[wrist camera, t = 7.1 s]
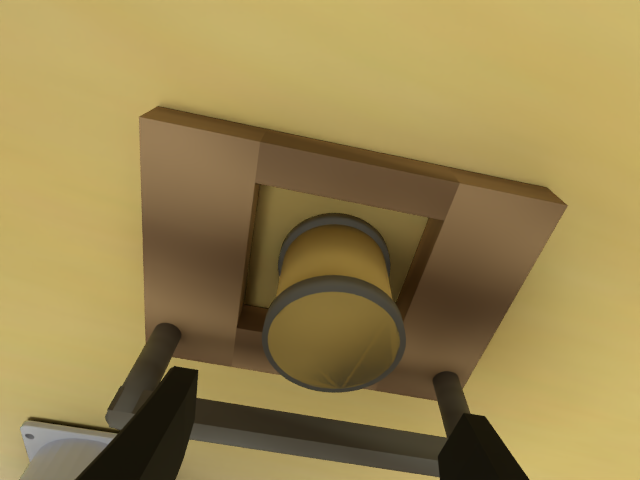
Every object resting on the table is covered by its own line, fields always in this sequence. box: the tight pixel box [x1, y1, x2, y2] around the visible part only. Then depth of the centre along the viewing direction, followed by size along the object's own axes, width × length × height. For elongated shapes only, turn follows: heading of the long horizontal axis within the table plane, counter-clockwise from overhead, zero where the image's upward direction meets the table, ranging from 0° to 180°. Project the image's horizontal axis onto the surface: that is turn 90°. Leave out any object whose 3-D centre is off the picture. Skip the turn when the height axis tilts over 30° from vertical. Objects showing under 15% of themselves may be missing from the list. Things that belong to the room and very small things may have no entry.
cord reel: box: [262, 213, 406, 392], centre depth 15 cm, size 5×5×5 cm
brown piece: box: [105, 106, 568, 477], centre depth 15 cm, size 11×15×6 cm
